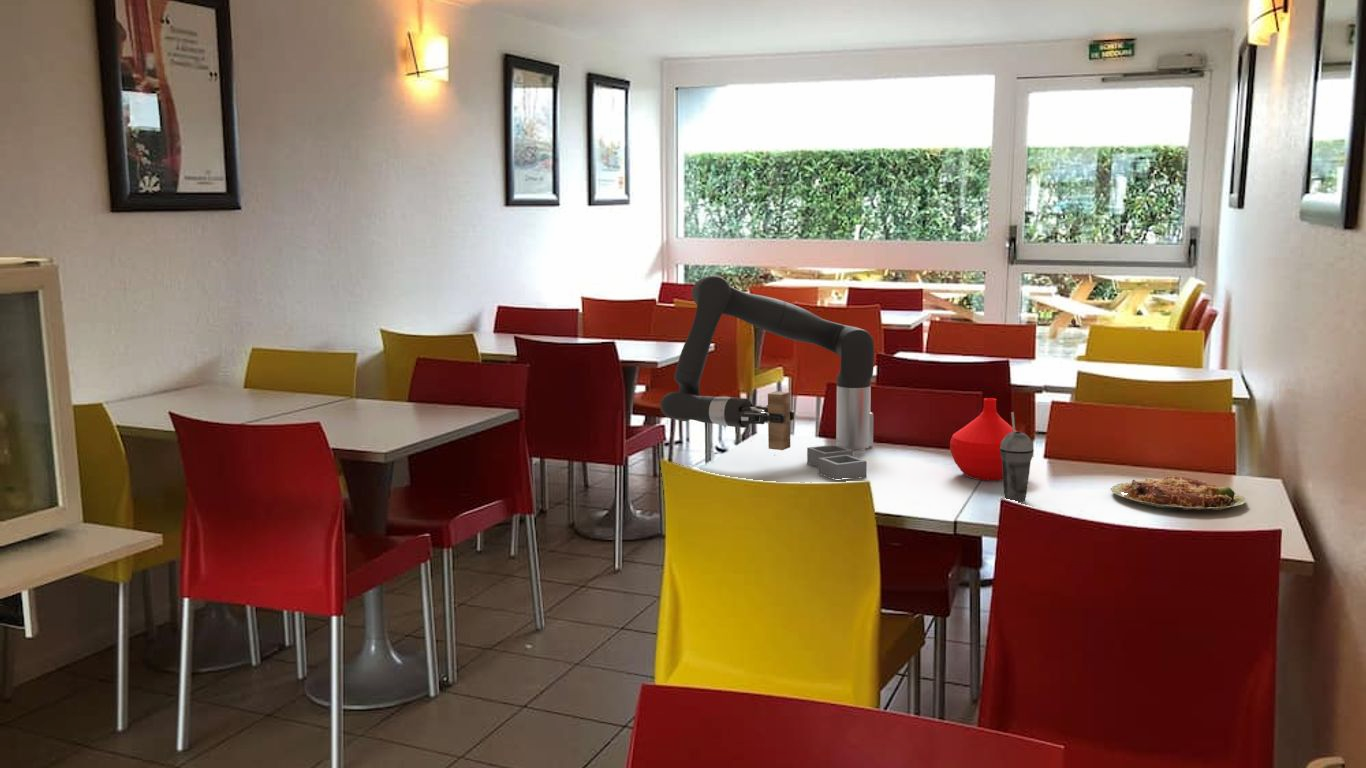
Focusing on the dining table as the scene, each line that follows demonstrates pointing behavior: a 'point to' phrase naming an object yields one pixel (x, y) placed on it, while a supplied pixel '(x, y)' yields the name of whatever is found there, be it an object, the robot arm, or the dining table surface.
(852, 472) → the end cap near
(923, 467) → the dining table surface
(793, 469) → the dining table surface
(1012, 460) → the beverage cup
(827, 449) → the end cap far
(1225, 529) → the dining table surface
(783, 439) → the brown wooden tall block
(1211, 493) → the rice dish
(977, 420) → the vase
